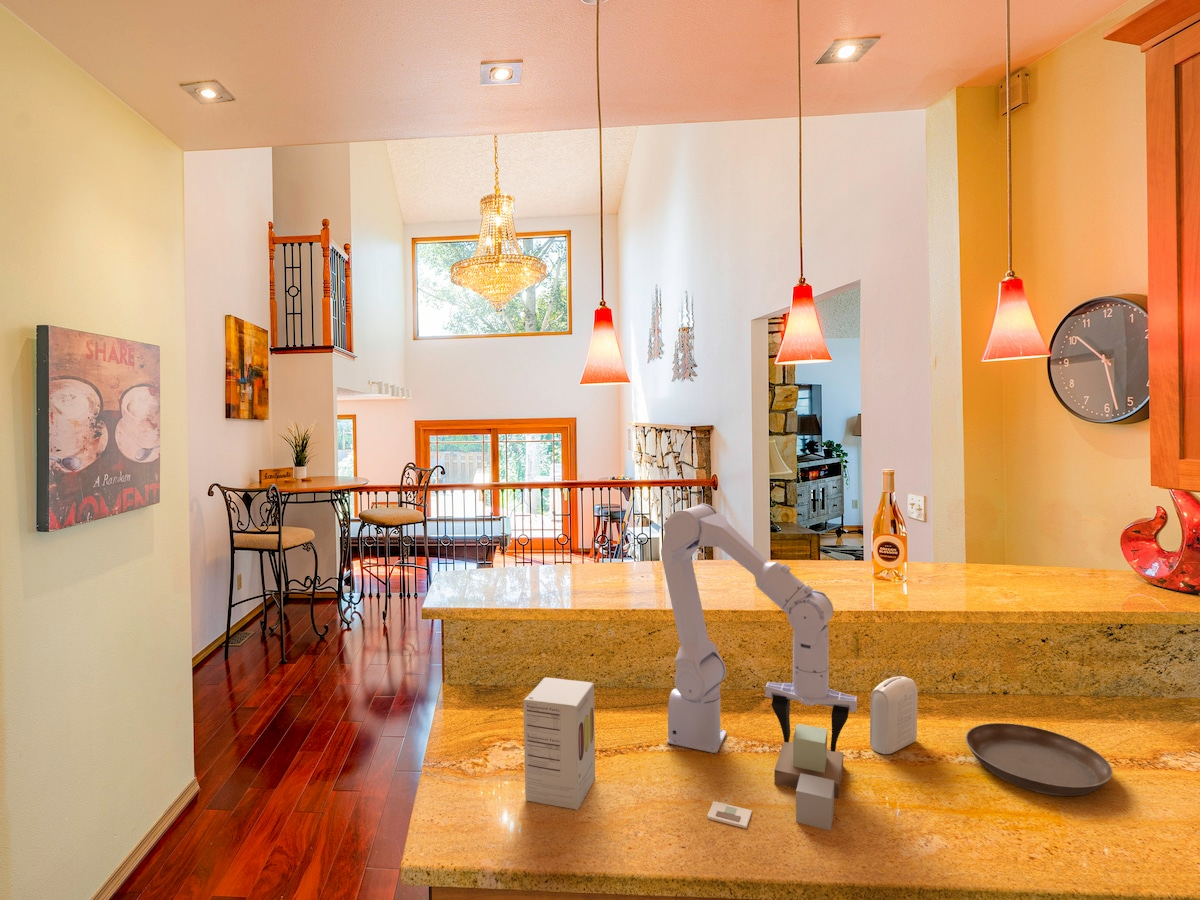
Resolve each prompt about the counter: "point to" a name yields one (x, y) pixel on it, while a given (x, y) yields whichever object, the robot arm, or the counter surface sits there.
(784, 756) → the walnut slab
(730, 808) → the card
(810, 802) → the grey cube
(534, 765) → the supplement box
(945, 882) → the counter surface
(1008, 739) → the plant saucer
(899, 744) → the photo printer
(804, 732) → the sage cube
